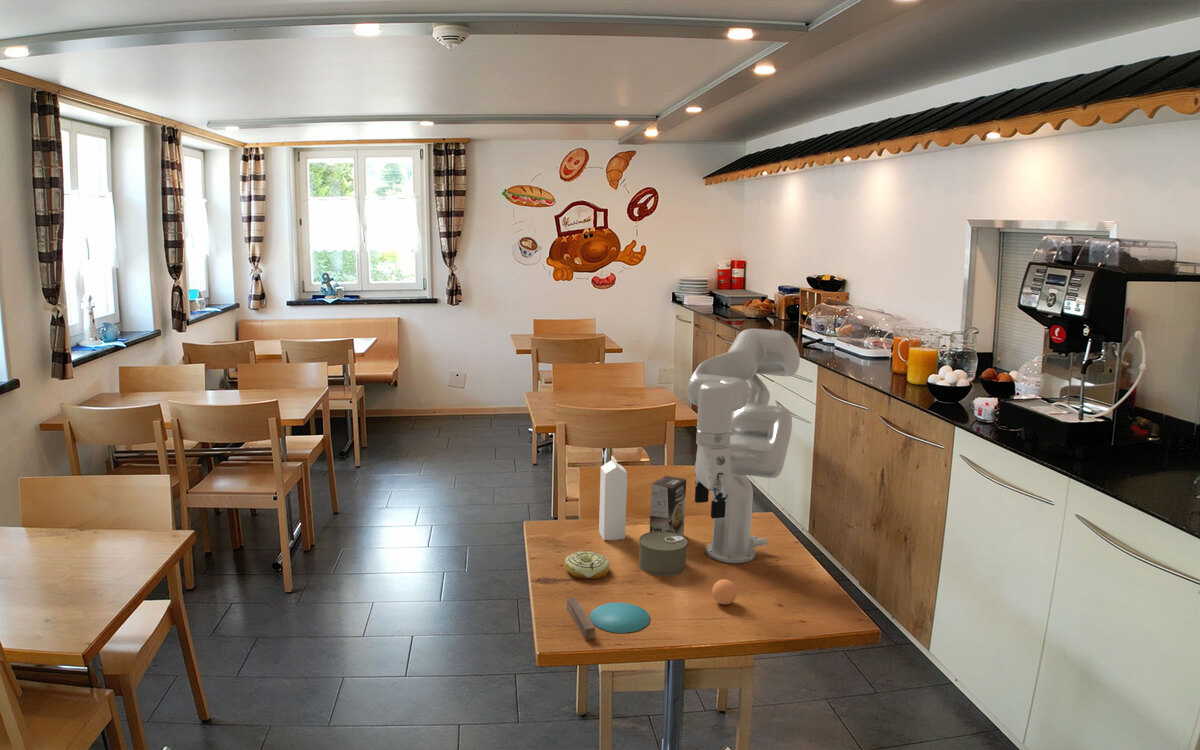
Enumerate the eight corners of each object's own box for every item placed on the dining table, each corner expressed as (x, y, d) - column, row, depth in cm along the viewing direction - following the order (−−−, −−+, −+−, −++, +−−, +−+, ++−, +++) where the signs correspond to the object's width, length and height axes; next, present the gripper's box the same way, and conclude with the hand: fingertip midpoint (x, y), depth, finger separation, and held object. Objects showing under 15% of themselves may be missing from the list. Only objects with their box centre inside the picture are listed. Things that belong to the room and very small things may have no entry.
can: (629, 560, 204) (630, 534, 203) (671, 553, 209) (672, 528, 208) (652, 580, 194) (653, 553, 192) (695, 572, 198) (696, 546, 197)
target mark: (637, 600, 183) (637, 599, 183) (659, 628, 171) (659, 627, 171) (582, 607, 179) (582, 606, 179) (600, 636, 167) (600, 635, 167)
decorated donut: (592, 586, 190) (592, 571, 189) (556, 573, 196) (556, 559, 195) (617, 570, 199) (617, 556, 198) (581, 559, 205) (582, 545, 204)
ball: (729, 596, 186) (730, 573, 185) (740, 607, 181) (741, 584, 180) (707, 599, 185) (708, 576, 183) (718, 610, 179) (719, 587, 178)
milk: (619, 531, 223) (622, 454, 218) (625, 539, 217) (628, 461, 213) (598, 532, 221) (600, 455, 217) (603, 541, 215) (605, 461, 211)
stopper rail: (575, 607, 179) (575, 597, 179) (594, 639, 166) (595, 627, 166) (566, 608, 178) (566, 598, 178) (585, 640, 165) (585, 629, 165)
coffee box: (669, 546, 213) (672, 488, 210) (648, 540, 217) (650, 483, 213) (684, 535, 221) (687, 478, 218) (663, 529, 224) (666, 474, 221)
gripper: (745, 447, 174) (740, 522, 177) (713, 426, 190) (710, 495, 194) (712, 449, 172) (708, 525, 175) (683, 428, 188) (680, 497, 192)
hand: (709, 509), depth 184 cm, fingers open, 9 cm apart
